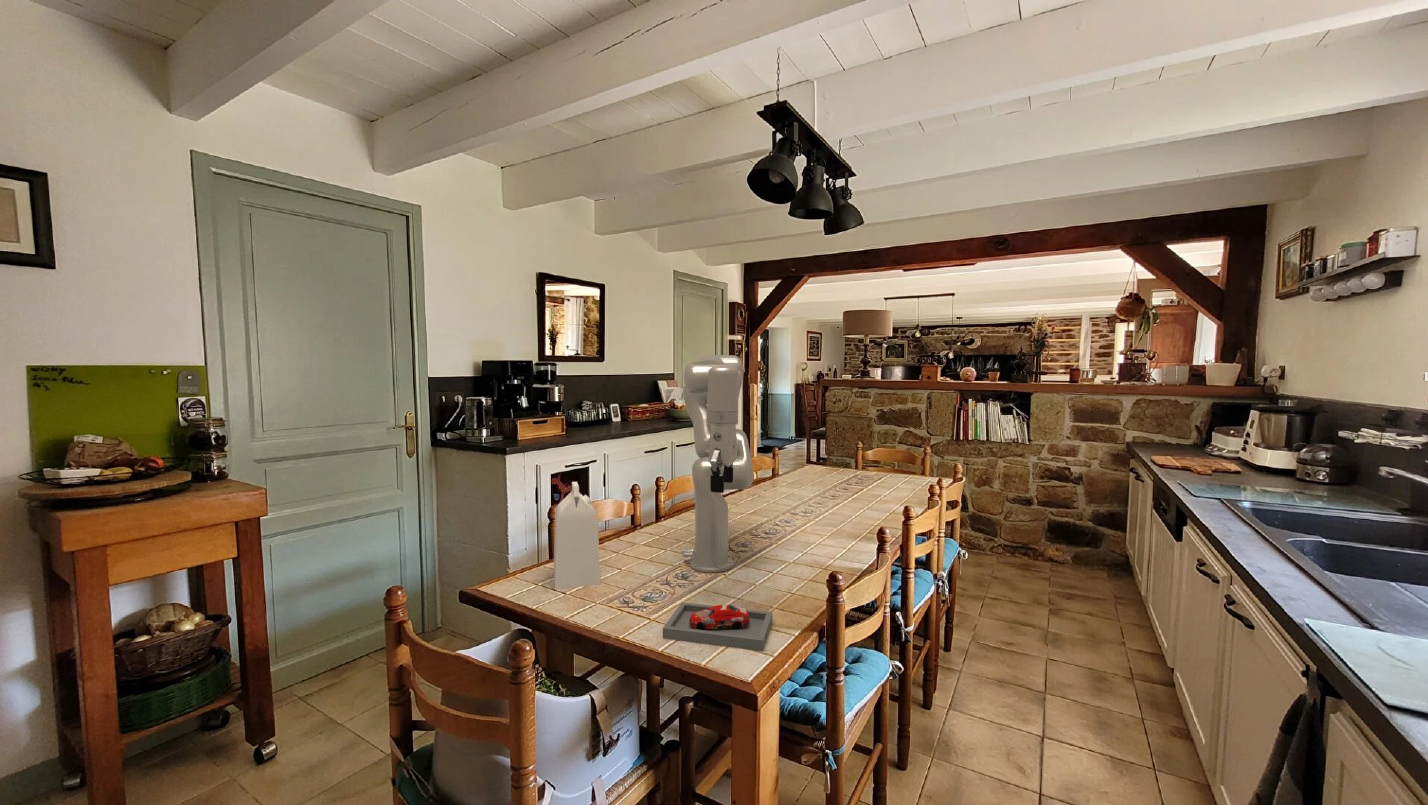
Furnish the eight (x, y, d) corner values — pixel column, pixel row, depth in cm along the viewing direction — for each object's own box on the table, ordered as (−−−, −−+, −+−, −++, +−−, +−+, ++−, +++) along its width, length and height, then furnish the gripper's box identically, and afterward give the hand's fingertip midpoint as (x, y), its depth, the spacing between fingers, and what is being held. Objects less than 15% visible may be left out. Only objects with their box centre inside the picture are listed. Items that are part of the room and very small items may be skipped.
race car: (689, 632, 118) (689, 614, 118) (688, 620, 124) (688, 603, 123) (750, 630, 119) (750, 612, 119) (747, 618, 124) (747, 601, 124)
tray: (662, 638, 117) (662, 628, 117) (681, 611, 130) (681, 602, 130) (762, 651, 112) (763, 640, 112) (772, 621, 125) (772, 612, 125)
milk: (553, 573, 154) (552, 480, 152) (595, 568, 158) (594, 478, 156) (555, 589, 143) (553, 490, 141) (600, 584, 146) (599, 487, 145)
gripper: (729, 423, 124) (729, 497, 126) (745, 414, 141) (744, 479, 143) (697, 422, 126) (697, 495, 128) (716, 412, 143) (716, 477, 145)
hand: (722, 486), depth 135 cm, fingers open, 9 cm apart
